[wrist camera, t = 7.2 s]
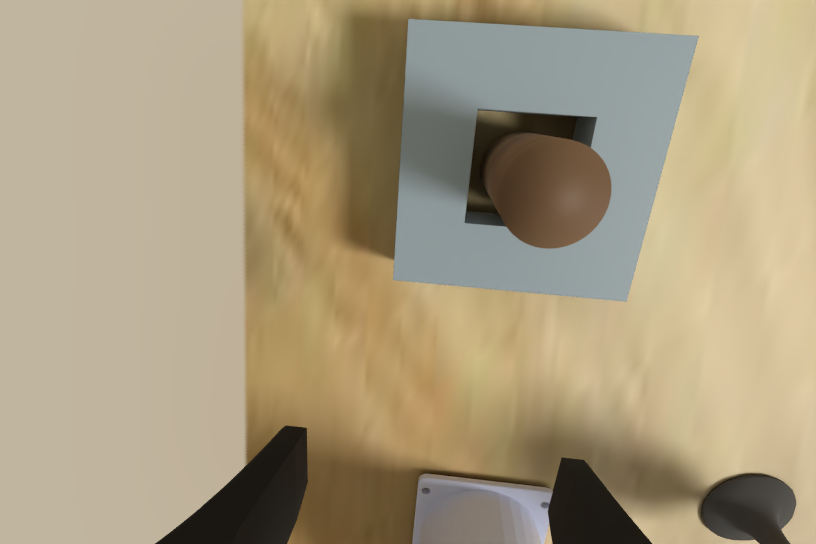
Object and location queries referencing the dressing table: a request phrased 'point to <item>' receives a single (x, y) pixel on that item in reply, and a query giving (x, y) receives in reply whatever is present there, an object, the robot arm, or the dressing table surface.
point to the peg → (546, 187)
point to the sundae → (750, 509)
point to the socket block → (532, 94)
